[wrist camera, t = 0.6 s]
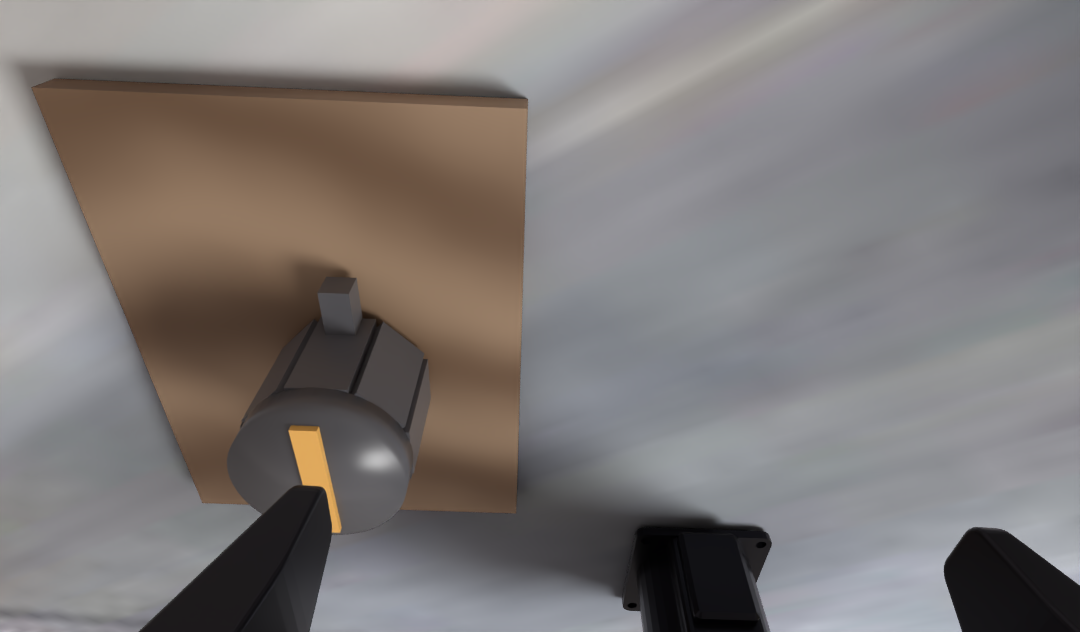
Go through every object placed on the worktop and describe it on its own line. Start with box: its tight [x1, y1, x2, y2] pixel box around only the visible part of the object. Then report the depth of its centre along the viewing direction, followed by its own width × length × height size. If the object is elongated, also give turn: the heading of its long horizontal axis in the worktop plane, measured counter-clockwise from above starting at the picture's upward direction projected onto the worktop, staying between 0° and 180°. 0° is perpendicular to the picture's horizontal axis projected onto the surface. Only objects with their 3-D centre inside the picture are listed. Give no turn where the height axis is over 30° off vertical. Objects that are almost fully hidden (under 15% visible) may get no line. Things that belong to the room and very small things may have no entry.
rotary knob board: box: [32, 79, 528, 513], centre depth 22 cm, size 18×14×5 cm
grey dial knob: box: [227, 277, 431, 535], centre depth 21 cm, size 7×5×5 cm
